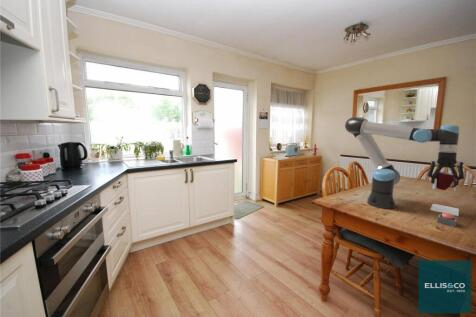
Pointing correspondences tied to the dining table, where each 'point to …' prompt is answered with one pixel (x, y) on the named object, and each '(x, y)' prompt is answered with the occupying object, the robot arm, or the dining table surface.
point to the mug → (445, 180)
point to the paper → (445, 209)
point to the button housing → (447, 221)
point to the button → (447, 216)
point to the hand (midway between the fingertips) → (443, 189)
